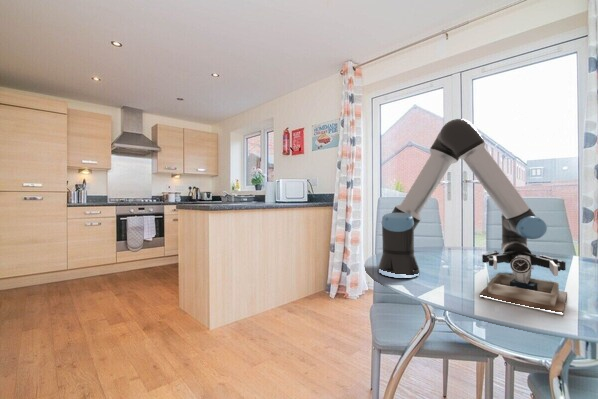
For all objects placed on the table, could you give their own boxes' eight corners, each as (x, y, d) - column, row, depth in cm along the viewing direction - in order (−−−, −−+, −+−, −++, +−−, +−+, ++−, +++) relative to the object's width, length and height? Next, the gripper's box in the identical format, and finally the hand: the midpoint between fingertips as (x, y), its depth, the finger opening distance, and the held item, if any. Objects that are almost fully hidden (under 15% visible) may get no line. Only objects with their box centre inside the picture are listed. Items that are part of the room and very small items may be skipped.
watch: (508, 293, 82) (507, 256, 81) (515, 287, 87) (515, 252, 86) (532, 298, 77) (532, 259, 77) (539, 291, 82) (538, 255, 82)
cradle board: (479, 297, 82) (479, 283, 82) (494, 282, 95) (493, 270, 95) (563, 315, 69) (563, 299, 69) (567, 296, 82) (567, 282, 82)
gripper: (565, 268, 91) (585, 287, 73) (475, 260, 104) (473, 274, 87) (565, 245, 90) (584, 259, 73) (474, 240, 104) (473, 250, 87)
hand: (524, 267), depth 80 cm, fingers open, 13 cm apart
